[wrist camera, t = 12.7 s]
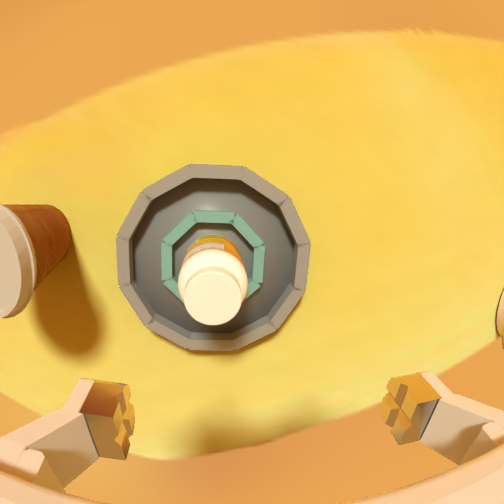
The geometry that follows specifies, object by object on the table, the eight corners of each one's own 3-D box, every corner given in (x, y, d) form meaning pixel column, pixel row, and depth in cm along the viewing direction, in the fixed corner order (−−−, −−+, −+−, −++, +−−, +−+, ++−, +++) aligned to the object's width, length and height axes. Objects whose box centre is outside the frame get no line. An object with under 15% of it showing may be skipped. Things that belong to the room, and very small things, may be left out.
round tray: (309, 171, 31) (317, 171, 28) (292, 338, 35) (297, 349, 33) (123, 164, 28) (116, 163, 26) (129, 335, 33) (124, 346, 30)
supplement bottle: (243, 284, 32) (255, 330, 23) (188, 289, 31) (180, 338, 22) (238, 230, 31) (249, 257, 21) (181, 236, 30) (167, 265, 21)
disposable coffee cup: (41, 291, 30) (-16, 340, 19) (1, 219, 28) (-68, 244, 16) (101, 250, 30) (48, 292, 19) (57, 171, 28) (-12, 176, 16)
